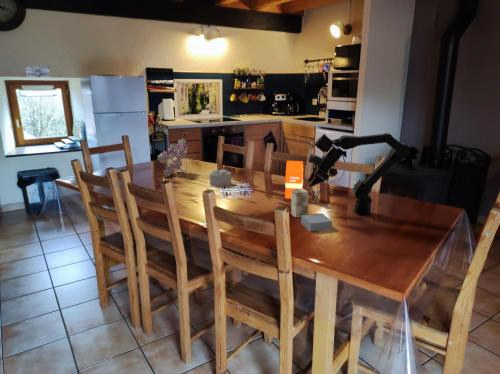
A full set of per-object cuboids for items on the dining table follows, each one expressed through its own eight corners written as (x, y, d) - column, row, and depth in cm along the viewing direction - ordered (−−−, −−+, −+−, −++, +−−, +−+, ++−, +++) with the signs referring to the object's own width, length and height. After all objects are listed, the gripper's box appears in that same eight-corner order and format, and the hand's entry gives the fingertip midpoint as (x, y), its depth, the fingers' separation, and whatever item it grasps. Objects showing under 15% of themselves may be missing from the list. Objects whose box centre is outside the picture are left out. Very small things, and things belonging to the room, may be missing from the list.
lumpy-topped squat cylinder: (233, 184, 228) (232, 170, 226) (215, 187, 221) (214, 173, 218) (224, 180, 236) (224, 167, 234) (206, 184, 229) (206, 170, 227)
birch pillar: (302, 212, 178) (303, 188, 174) (307, 216, 172) (308, 192, 169) (291, 213, 176) (291, 189, 173) (295, 217, 171) (296, 193, 167)
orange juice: (301, 199, 198) (302, 162, 192) (285, 198, 199) (285, 162, 194) (302, 194, 205) (303, 159, 200) (286, 194, 207) (287, 159, 201)
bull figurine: (314, 206, 186) (315, 191, 183) (303, 198, 198) (304, 184, 196) (322, 205, 187) (323, 190, 184) (311, 198, 199) (311, 183, 197)
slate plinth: (321, 221, 167) (322, 213, 166) (331, 229, 157) (332, 221, 156) (301, 223, 164) (301, 215, 163) (310, 232, 155) (310, 223, 154)
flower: (155, 168, 263) (152, 140, 246) (185, 162, 271) (184, 134, 255) (162, 186, 250) (160, 157, 233) (194, 179, 258) (194, 151, 242)
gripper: (315, 144, 178) (295, 169, 182) (319, 151, 160) (296, 178, 164) (333, 158, 179) (312, 182, 183) (339, 167, 161) (315, 193, 166)
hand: (309, 183), depth 174 cm, fingers open, 9 cm apart
